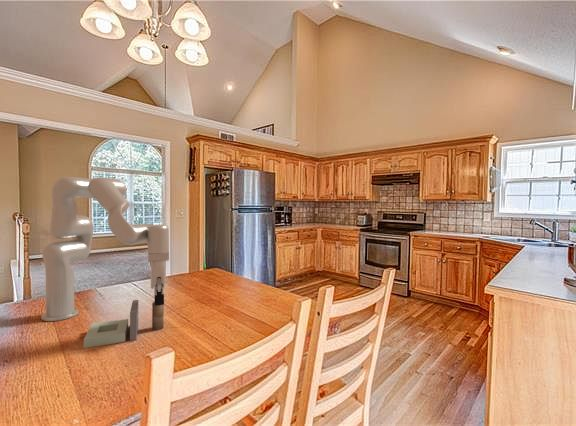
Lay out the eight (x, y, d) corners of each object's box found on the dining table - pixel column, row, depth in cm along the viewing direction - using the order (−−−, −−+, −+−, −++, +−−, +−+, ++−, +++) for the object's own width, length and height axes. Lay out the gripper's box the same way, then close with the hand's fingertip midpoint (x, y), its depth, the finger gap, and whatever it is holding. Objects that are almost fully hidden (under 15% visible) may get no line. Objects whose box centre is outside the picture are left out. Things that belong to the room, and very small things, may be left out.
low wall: (132, 325, 116) (132, 300, 116) (138, 324, 117) (138, 299, 116) (130, 340, 103) (130, 312, 103) (136, 339, 104) (136, 311, 104)
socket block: (91, 331, 110) (91, 323, 110) (128, 326, 115) (128, 318, 115) (83, 348, 98) (83, 339, 98) (125, 341, 103) (125, 333, 102)
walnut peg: (152, 326, 115) (152, 301, 115) (163, 325, 117) (163, 300, 117) (152, 331, 112) (152, 304, 111) (163, 329, 113) (163, 303, 113)
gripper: (148, 254, 120) (148, 296, 120) (147, 261, 104) (148, 309, 104) (168, 253, 123) (168, 293, 123) (170, 259, 107) (170, 306, 107)
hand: (159, 301), depth 114 cm, fingers open, 9 cm apart
